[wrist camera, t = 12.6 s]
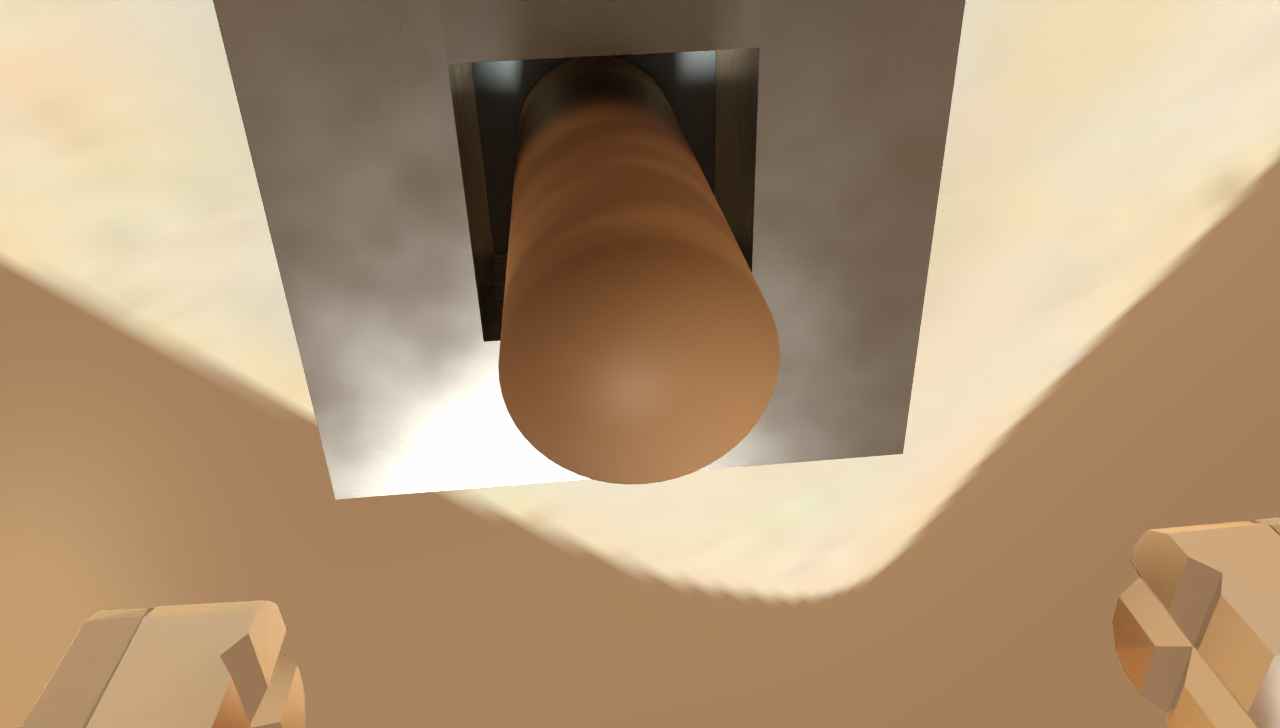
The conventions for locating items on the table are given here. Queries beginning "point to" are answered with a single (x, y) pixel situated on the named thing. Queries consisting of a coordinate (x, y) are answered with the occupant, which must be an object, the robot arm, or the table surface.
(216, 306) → the table surface
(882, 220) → the socket block
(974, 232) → the table surface
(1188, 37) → the table surface
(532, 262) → the walnut peg
